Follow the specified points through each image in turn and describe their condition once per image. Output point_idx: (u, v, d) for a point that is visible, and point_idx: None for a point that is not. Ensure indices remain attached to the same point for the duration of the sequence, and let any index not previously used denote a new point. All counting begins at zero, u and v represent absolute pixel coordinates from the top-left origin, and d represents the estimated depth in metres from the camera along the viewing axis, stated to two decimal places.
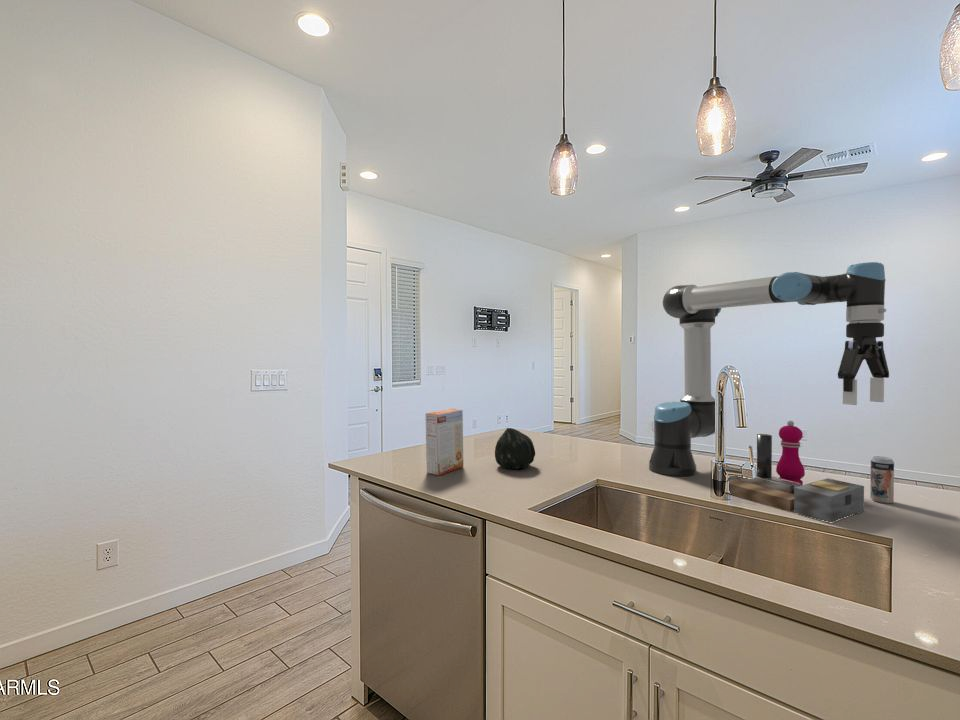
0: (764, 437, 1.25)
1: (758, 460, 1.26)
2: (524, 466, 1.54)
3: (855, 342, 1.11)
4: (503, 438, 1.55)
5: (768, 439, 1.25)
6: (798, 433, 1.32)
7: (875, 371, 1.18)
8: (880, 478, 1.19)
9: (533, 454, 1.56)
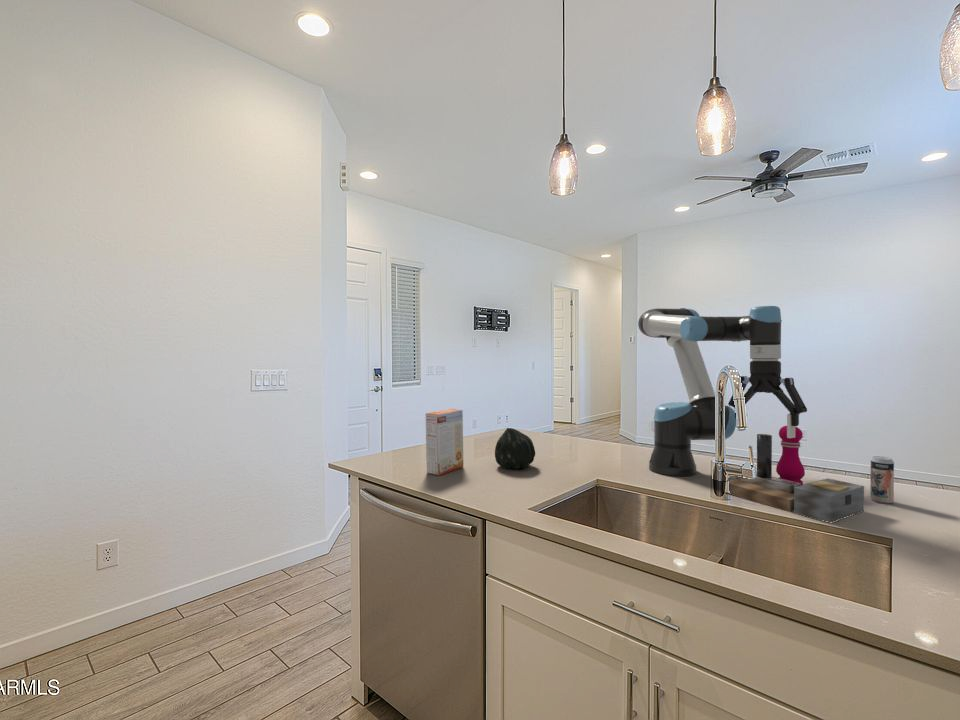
0: (764, 437, 1.25)
1: (758, 460, 1.26)
2: (524, 466, 1.54)
3: None
4: (503, 438, 1.55)
5: (768, 439, 1.25)
6: (798, 433, 1.32)
7: None
8: (880, 478, 1.19)
9: (533, 454, 1.56)
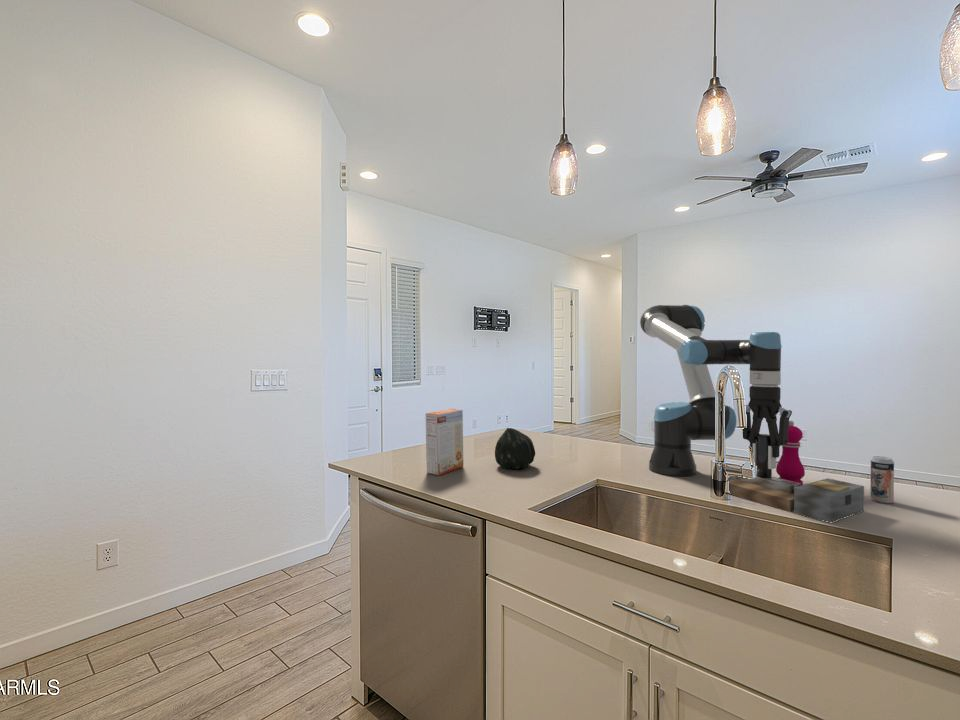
0: (764, 437, 1.25)
1: (758, 460, 1.26)
2: (524, 466, 1.54)
3: None
4: (503, 438, 1.55)
5: (768, 439, 1.25)
6: (798, 433, 1.32)
7: None
8: (880, 478, 1.19)
9: (533, 454, 1.56)
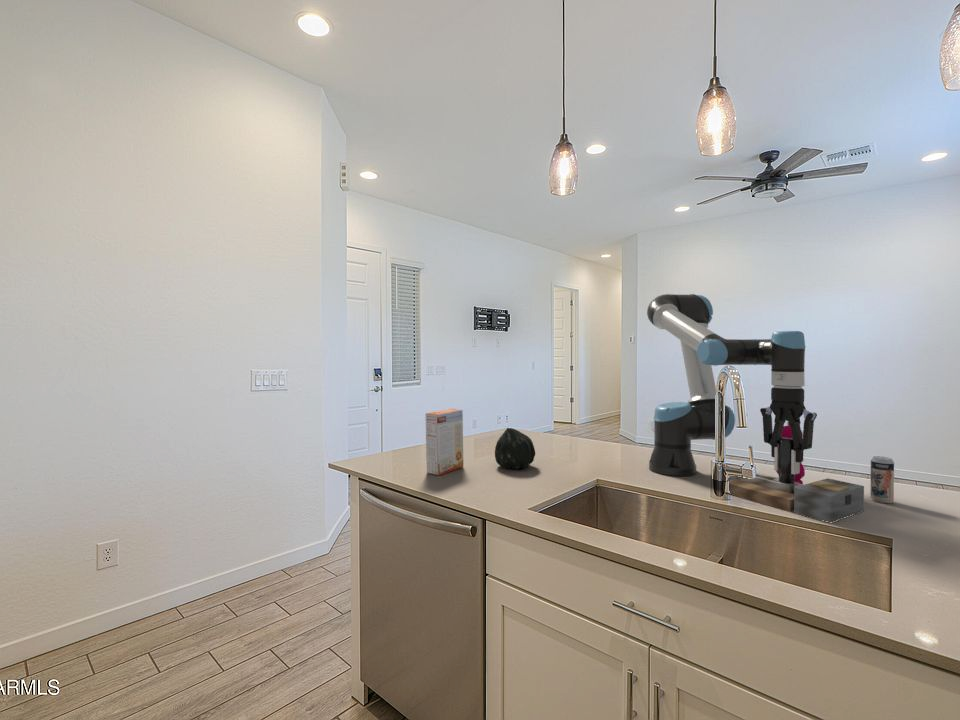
0: (787, 441, 1.20)
1: (780, 464, 1.21)
2: (524, 466, 1.54)
3: None
4: (503, 438, 1.55)
5: (791, 443, 1.19)
6: None
7: None
8: (880, 478, 1.19)
9: (533, 454, 1.56)
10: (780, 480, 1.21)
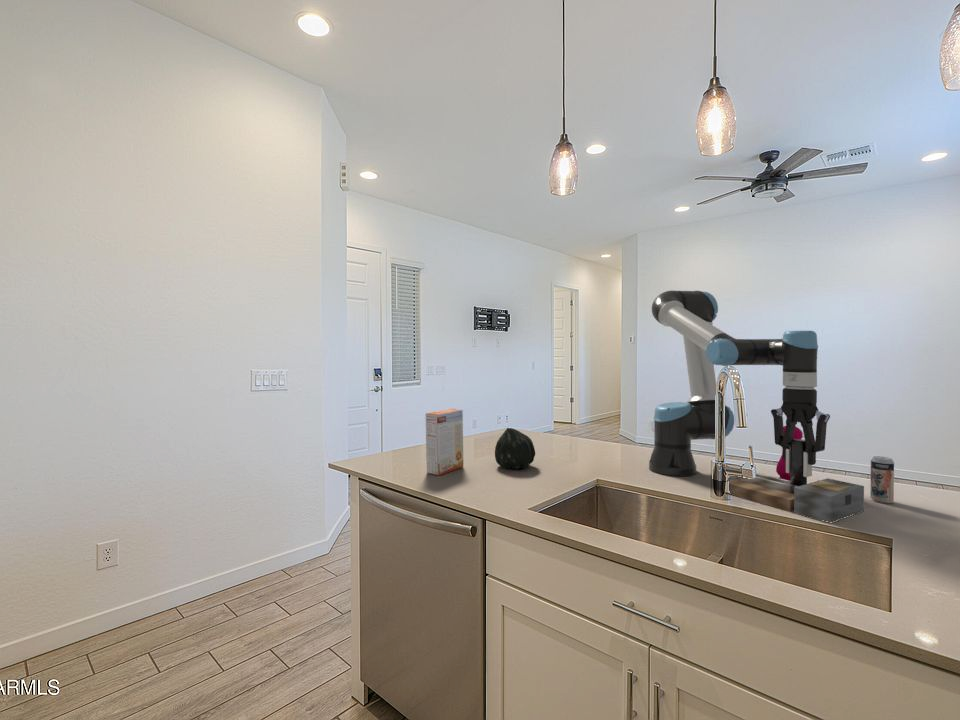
0: (799, 443, 1.17)
1: (792, 467, 1.18)
2: (524, 466, 1.54)
3: None
4: (503, 438, 1.55)
5: (803, 445, 1.17)
6: (798, 433, 1.32)
7: None
8: (880, 478, 1.19)
9: (533, 454, 1.56)
10: (792, 483, 1.19)
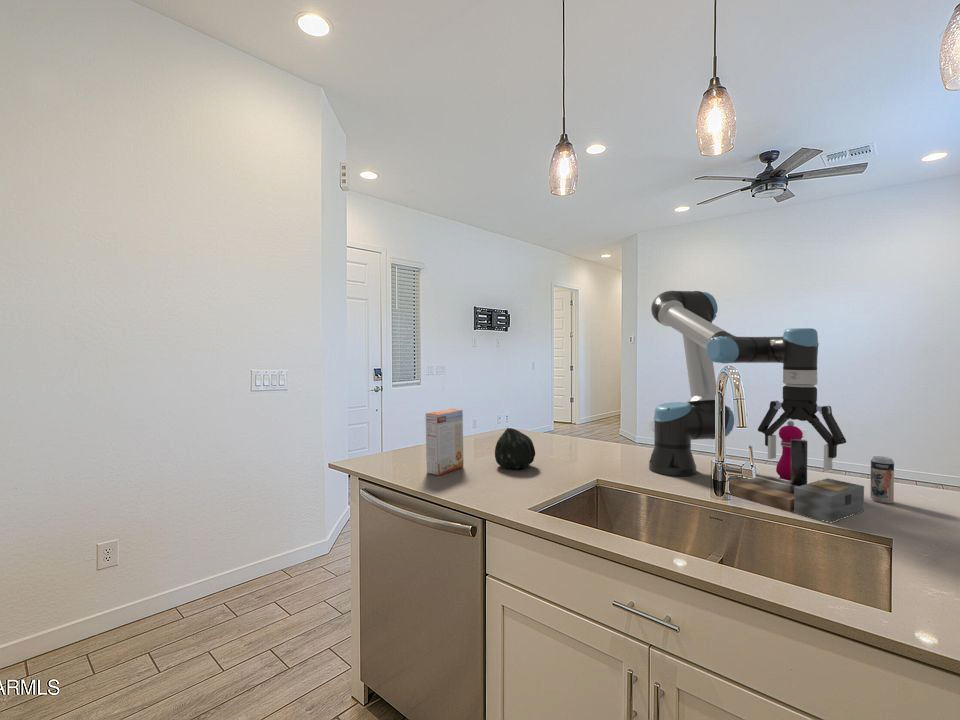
0: (799, 443, 1.17)
1: (792, 467, 1.18)
2: (524, 466, 1.54)
3: None
4: (503, 438, 1.55)
5: (803, 445, 1.17)
6: (798, 433, 1.32)
7: None
8: (880, 478, 1.19)
9: (533, 454, 1.56)
10: (792, 483, 1.19)
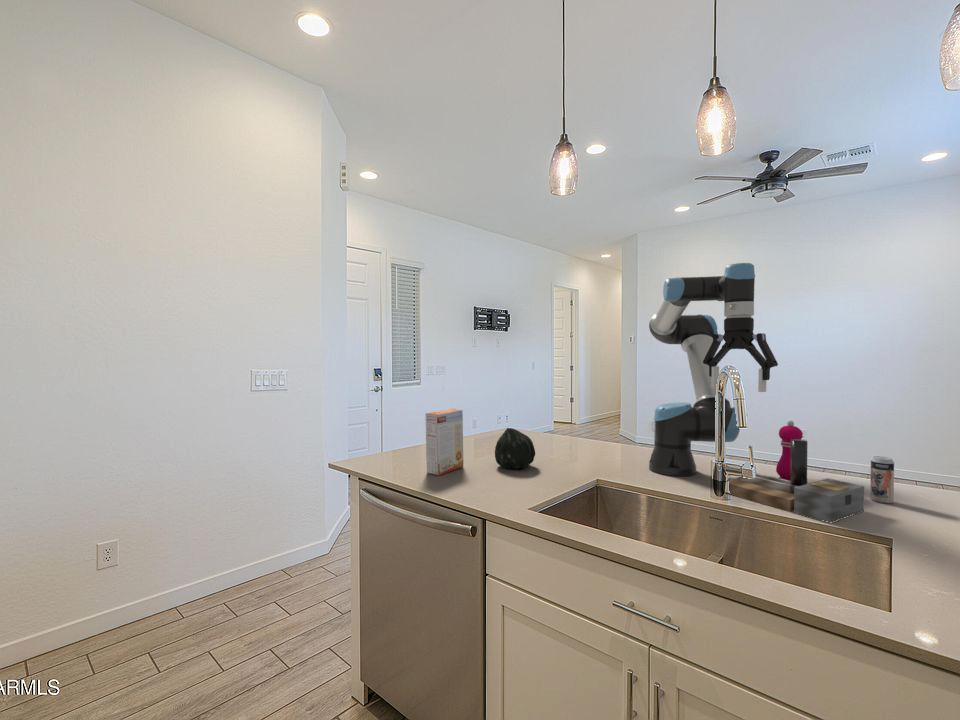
0: (799, 443, 1.17)
1: (792, 467, 1.18)
2: (524, 466, 1.54)
3: None
4: (503, 438, 1.55)
5: (803, 445, 1.17)
6: (798, 433, 1.32)
7: None
8: (880, 478, 1.19)
9: (533, 454, 1.56)
10: (792, 483, 1.19)
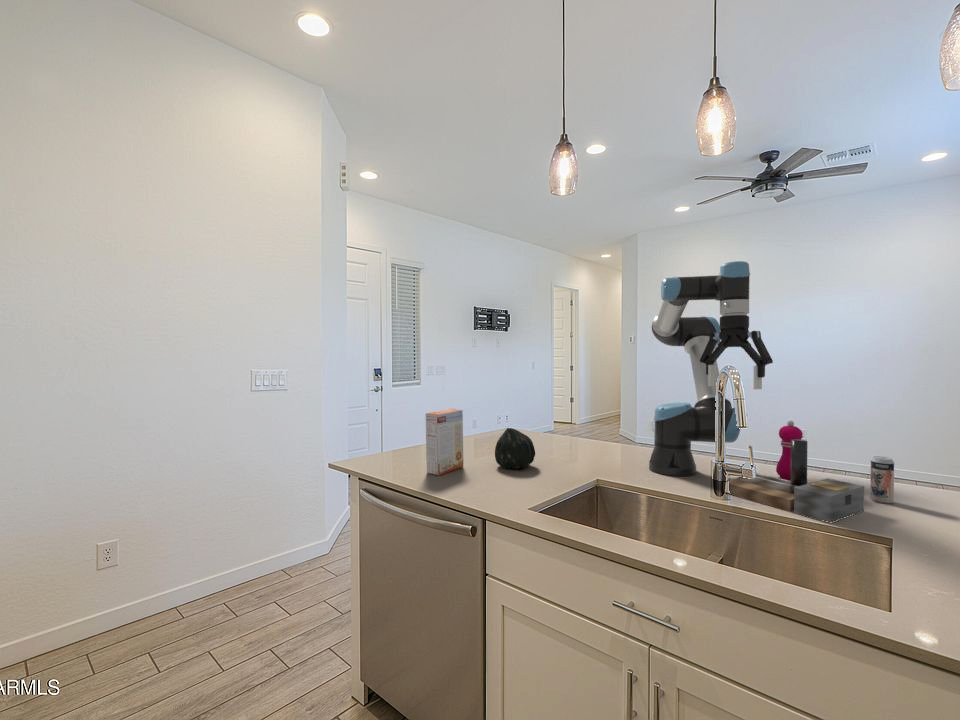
0: (799, 443, 1.17)
1: (792, 467, 1.18)
2: (524, 466, 1.54)
3: None
4: (503, 438, 1.55)
5: (803, 445, 1.17)
6: (798, 433, 1.32)
7: None
8: (880, 478, 1.19)
9: (533, 454, 1.56)
10: (792, 483, 1.19)
